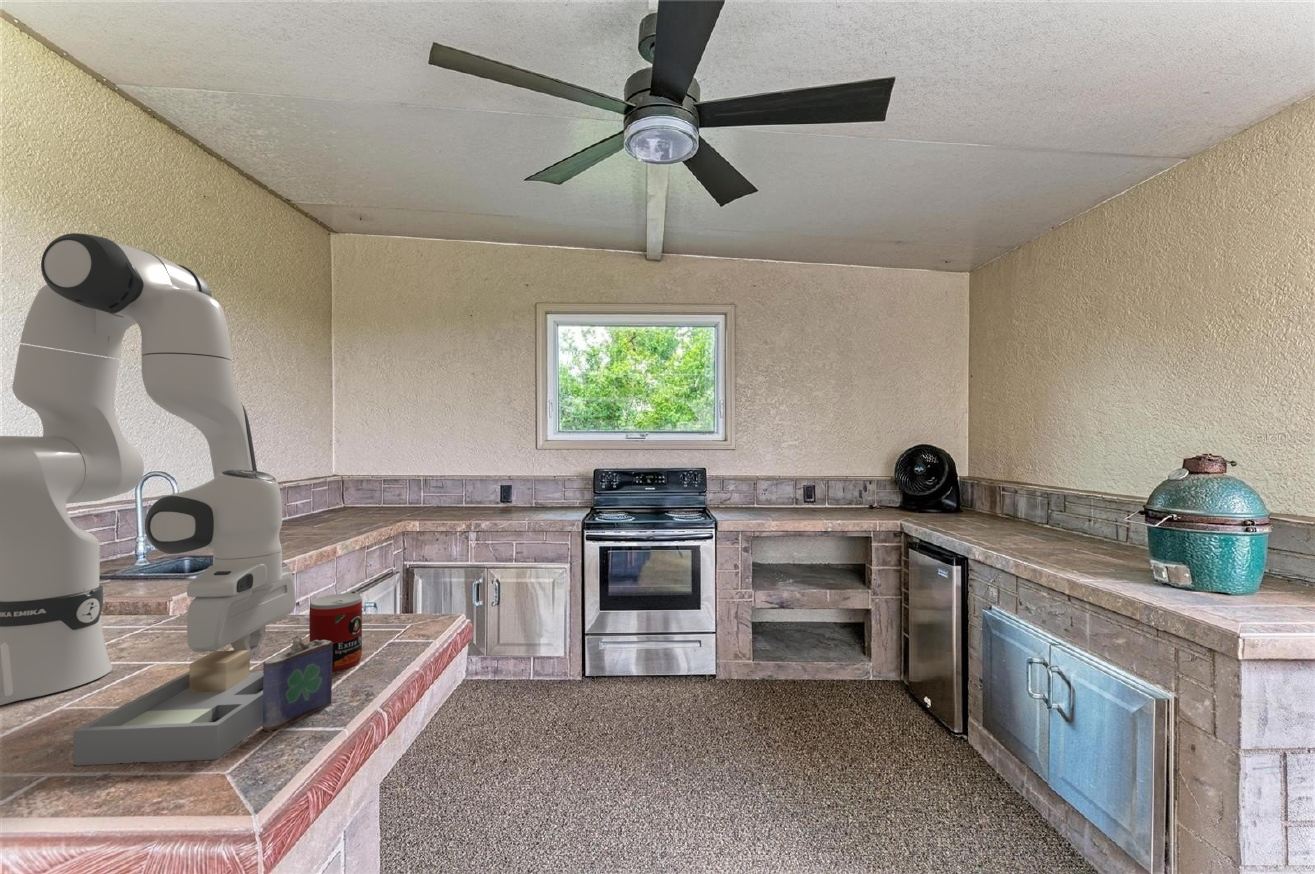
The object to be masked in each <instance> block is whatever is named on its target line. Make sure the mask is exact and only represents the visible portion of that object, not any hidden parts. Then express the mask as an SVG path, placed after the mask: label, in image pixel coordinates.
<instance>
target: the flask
mask: <svg viewBox="0 0 1315 874" xmlns="http://www.w3.org/2000/svg"><path fill="white" fill-rule="evenodd" d="M303 640H304V639H303V638H302V636H300V635H297V636H294V637H292V638H291V639H288V641H289V642H292V645H291V646H290V649H291V650H288V651H286V652H285V651H284V652H283V653H281V654H277V655H275V656H272V657H270V658H268V659H266V660H265V661H264V662H263V663H262V665H263V667H262V669H263V671H262V672H263V673H264V678H263V724H262V725H261V727H262V729H263V731H264V732H266V731H267V732H270V733H271V732H272V731H273V730H279V729H282V728H286V726H287V725H290V724H292V723H295V722H297V721H299V720H302V719H303V718H306V717H307V716H308V715H309V714H314V713H315V712H317V711H320V710H322V709H324V708H326V707H330V705H331V704H332V693H333V692H332V689H333V688H332V687H333V686H332V685H333V684H332V681H333V671H332V656H333V652H332V649H333V642H332V641H328V640H321V641H319V640H315V641H313V642H310V641H309V642H307V643H306V642H304V641H303ZM314 642H315V643H314Z"/></svg>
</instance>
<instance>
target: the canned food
mask: <svg viewBox="0 0 1315 874" xmlns="http://www.w3.org/2000/svg"><path fill="white" fill-rule="evenodd" d="M308 615H309V616H308V617H309V628H308V629H309V643H310V642H313V641H315V640H319V641H321V640H328V641H332V642H333V649H332V652H333V656H332V672H337V670H338V671H343V670H345V669H349V668H351V666H352V667H353V665H354V666H356V665H357V664H358V663H360V661H361V659H362V655H363V654H362V653H363V650H362V649H363V647H362V646H363V599H362V595H361V594H358V593H346V592H345V593H335V594H334V593H333V594H328V595H323V596H319V597H317V598H314V599H312V600H311V601H310V602H309V614H308ZM314 643H315V642H314ZM348 667H349V668H348Z"/></svg>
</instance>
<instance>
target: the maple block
mask: <svg viewBox="0 0 1315 874" xmlns="http://www.w3.org/2000/svg"><path fill="white" fill-rule="evenodd" d="M250 663H251V660H250V650H237V651H235V650H216V651H212V652H211V653H209V654H206V655H205V656H203V657H201V658H199V659H197V660H195V661H193V662H191V663H189V671H190V674H189V692H211V691H227V690H228V689H230V688H232V687H233V686H235V685H237V684H238V683H240V682H241V681H243V680H245V679H246V678H248V677H250V673H251V672H250V666H251V665H250Z"/></svg>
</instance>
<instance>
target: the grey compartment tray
mask: <svg viewBox="0 0 1315 874" xmlns="http://www.w3.org/2000/svg"><path fill="white" fill-rule="evenodd" d="M189 674H190V670H189V671H187V672H185V673H183V674H180V675H179V676H177V677H175V678H173V679H172V680H170V681H168V682H165V683H164V684H161V685H160V686H157V687H156V688H154V689H151V690H150V691H148V692H146V693H144V694H142V695H141V696H139V697H137V698H134V699H133V700H131V701H129V702H127V703H124V704H122V705H121V706H119V707H117V708H115V709H113V710H112V711H109V712H108V713H105V714H104V715H101V716H99V717H98V718H95V719H93V720H92V721H90V722H88V723H86V724H84V725H82V726H80V727H78V728H76V729H74V730H73V733H72V734H73V735H72V737H73V739H72V740H73V742H72V743H73V745H72V747H73V748H72V765H73V767H75V766H74V765H76V767H77V766H93V765H94V766H95V765H97V766H98V765H117V764H118V763H119V764H118V765H120V763H123V764H139V762H140V764H142V763H141V762H146V763H161V762H163V763H164V762H167V763H168V762H184V761H185V762H186V761H187V762H189V761H209V760H211V761H212V760H219V758H221V757H222V756H224V755H225V754H227V753H228V752H229V751H230V750H231V749H233V748H234V747H235V746H236V745H238V744H239V743H241V741H243V740H245V739H246V738H247V737H248V736H250V735H251V734H253V732H255V731H256V730H257V729H260V727H262V724H263V678H264V673H263V671H262V672H261V671H260V672H259V671H256V672H250V677H248V678H246V679H245V680H243V681H241V682H240V683H238V684H237V685H235V686H233V687H232V688H230V689H228V690H227V691H211V692H189ZM133 762H135V763H133ZM136 762H137V763H136Z"/></svg>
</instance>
